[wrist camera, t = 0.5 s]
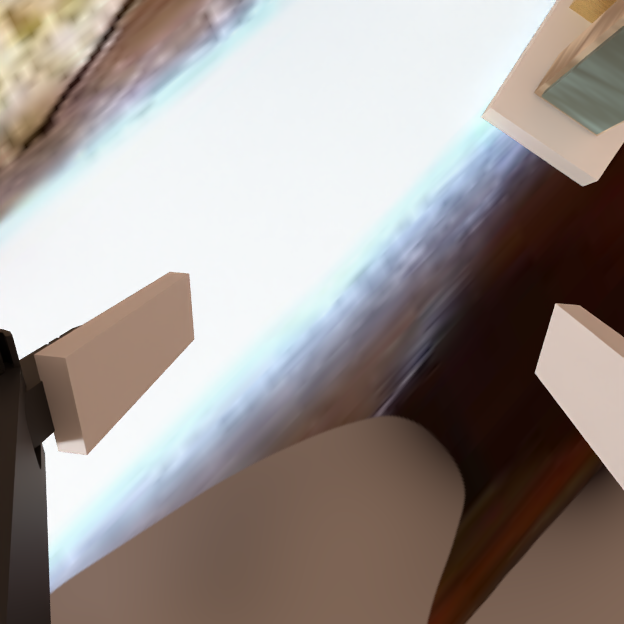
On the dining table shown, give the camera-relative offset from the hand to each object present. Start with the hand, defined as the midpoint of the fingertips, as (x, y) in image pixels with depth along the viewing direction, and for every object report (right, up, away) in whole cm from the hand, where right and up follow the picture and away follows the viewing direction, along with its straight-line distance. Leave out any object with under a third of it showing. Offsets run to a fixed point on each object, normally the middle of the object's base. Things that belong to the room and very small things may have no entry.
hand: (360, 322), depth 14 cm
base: (+23, +22, +23) cm, 39 cm away
